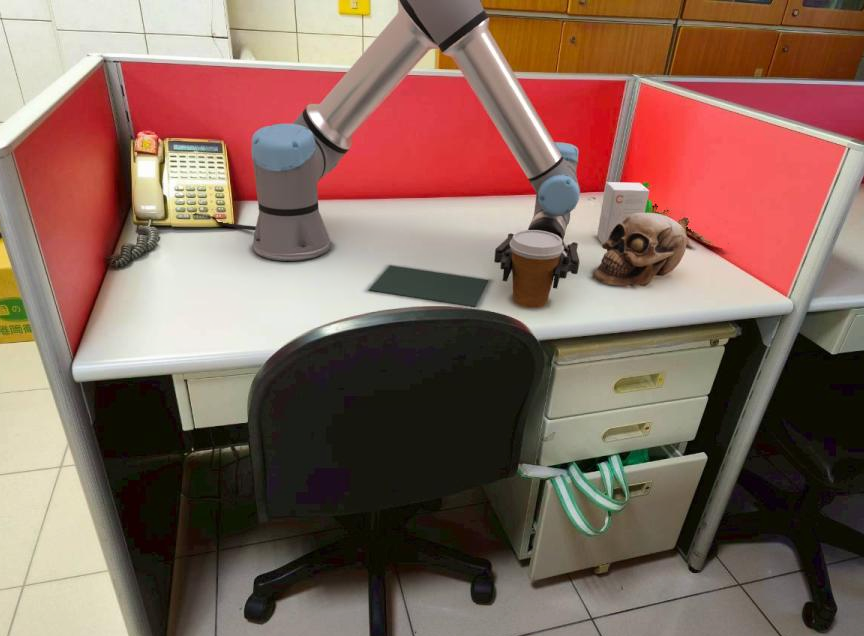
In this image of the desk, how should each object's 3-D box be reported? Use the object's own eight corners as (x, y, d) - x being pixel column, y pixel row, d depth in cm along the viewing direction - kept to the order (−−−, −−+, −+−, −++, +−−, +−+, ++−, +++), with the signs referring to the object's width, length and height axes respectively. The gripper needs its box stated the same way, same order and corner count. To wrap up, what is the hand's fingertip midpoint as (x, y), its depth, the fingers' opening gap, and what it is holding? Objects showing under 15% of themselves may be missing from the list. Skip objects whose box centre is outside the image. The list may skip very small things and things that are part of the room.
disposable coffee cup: (553, 315, 110) (563, 251, 104) (500, 308, 112) (506, 244, 105) (557, 293, 118) (566, 232, 112) (507, 286, 120) (513, 226, 113)
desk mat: (368, 290, 115) (368, 289, 115) (390, 266, 125) (390, 265, 125) (475, 307, 112) (475, 306, 111) (488, 280, 122) (488, 279, 121)
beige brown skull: (588, 279, 124) (604, 213, 118) (606, 260, 139) (621, 199, 133) (667, 300, 119) (688, 232, 114) (677, 277, 134) (696, 216, 128)
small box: (629, 237, 148) (640, 182, 141) (638, 247, 142) (650, 190, 135) (595, 236, 147) (605, 181, 140) (603, 246, 141) (614, 189, 135)
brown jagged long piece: (656, 230, 154) (700, 256, 140) (660, 211, 152) (705, 236, 137) (689, 227, 157) (735, 252, 142) (693, 208, 154) (741, 232, 140)
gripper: (594, 258, 127) (587, 306, 108) (493, 244, 130) (469, 288, 111) (600, 223, 123) (595, 265, 104) (496, 209, 126) (472, 248, 107)
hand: (530, 277), depth 108 cm, fingers closed on disposable coffee cup, 8 cm apart
